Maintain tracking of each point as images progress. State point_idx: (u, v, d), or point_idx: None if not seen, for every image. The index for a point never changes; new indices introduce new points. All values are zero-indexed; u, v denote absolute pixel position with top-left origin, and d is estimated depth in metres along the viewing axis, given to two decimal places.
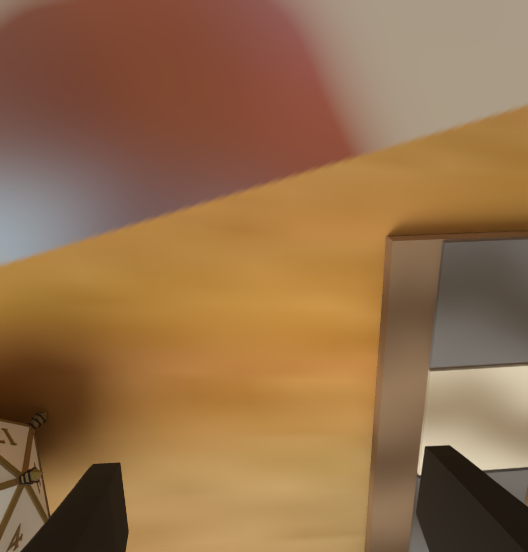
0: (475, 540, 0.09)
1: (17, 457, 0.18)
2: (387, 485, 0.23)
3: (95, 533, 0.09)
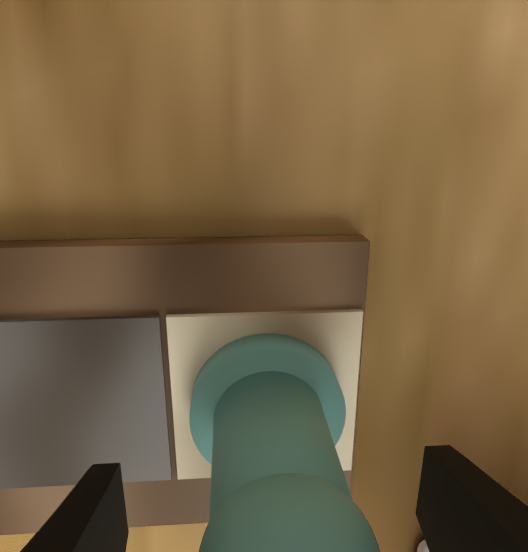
0: (475, 540, 0.09)
1: None
2: (13, 519, 0.16)
3: (95, 533, 0.09)
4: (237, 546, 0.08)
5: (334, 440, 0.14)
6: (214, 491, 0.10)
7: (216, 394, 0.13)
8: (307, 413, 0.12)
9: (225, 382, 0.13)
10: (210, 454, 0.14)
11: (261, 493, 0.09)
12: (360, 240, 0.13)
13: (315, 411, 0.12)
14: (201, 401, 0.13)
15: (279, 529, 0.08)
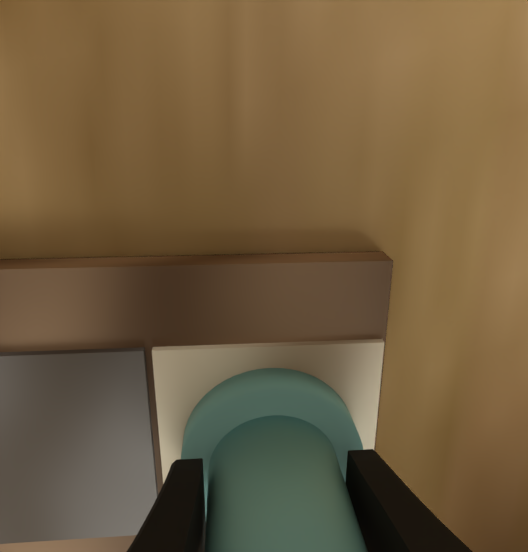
0: (381, 547, 0.09)
1: None
2: None
3: (194, 527, 0.09)
4: None
5: None
6: None
7: (211, 442, 0.11)
8: (322, 473, 0.10)
9: (222, 429, 0.11)
10: None
11: None
12: (381, 259, 0.11)
13: (330, 468, 0.10)
14: (193, 450, 0.11)
15: None
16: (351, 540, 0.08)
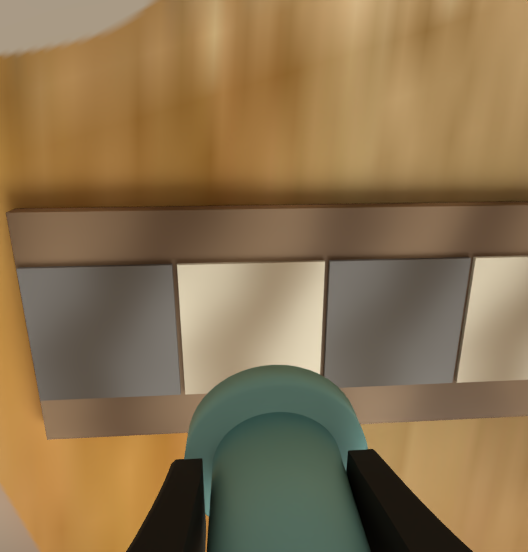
0: (382, 547, 0.09)
1: None
2: None
3: (194, 527, 0.09)
4: None
5: None
6: None
7: (215, 438, 0.11)
8: (325, 470, 0.10)
9: (226, 424, 0.11)
10: (208, 506, 0.12)
11: None
12: None
13: (334, 465, 0.10)
14: (197, 445, 0.11)
15: None
16: (353, 537, 0.08)
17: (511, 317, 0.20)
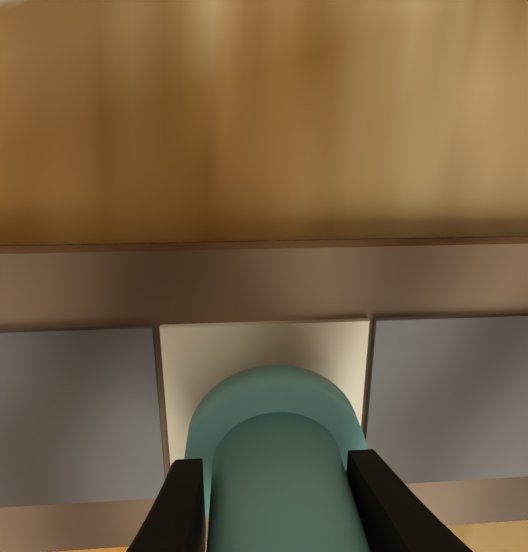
0: (382, 547, 0.09)
1: None
2: None
3: (194, 527, 0.09)
4: None
5: None
6: None
7: (215, 438, 0.11)
8: (324, 469, 0.10)
9: (226, 424, 0.11)
10: (208, 506, 0.12)
11: None
12: None
13: (333, 465, 0.10)
14: (197, 445, 0.11)
15: None
16: (352, 536, 0.08)
17: None
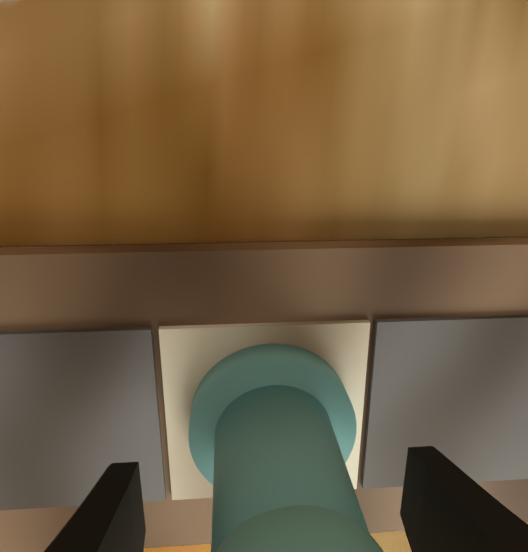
0: (455, 542, 0.09)
1: None
2: (371, 518, 0.15)
3: (117, 532, 0.09)
4: None
5: (343, 458, 0.13)
6: (216, 523, 0.09)
7: (217, 410, 0.12)
8: (317, 432, 0.11)
9: (227, 397, 0.12)
10: (211, 473, 0.13)
11: (271, 531, 0.08)
12: None
13: (325, 430, 0.11)
14: (200, 417, 0.12)
15: None
16: (342, 486, 0.09)
17: None
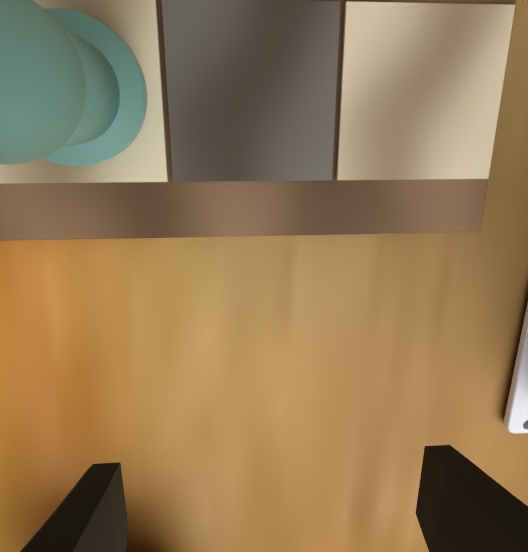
0: (475, 540, 0.09)
1: None
2: (188, 220, 0.17)
3: (95, 533, 0.09)
4: None
5: (134, 119, 0.15)
6: None
7: None
8: (72, 33, 0.13)
9: None
10: None
11: None
12: None
13: (87, 44, 0.13)
14: None
15: None
16: (64, 31, 0.11)
17: (397, 89, 0.16)
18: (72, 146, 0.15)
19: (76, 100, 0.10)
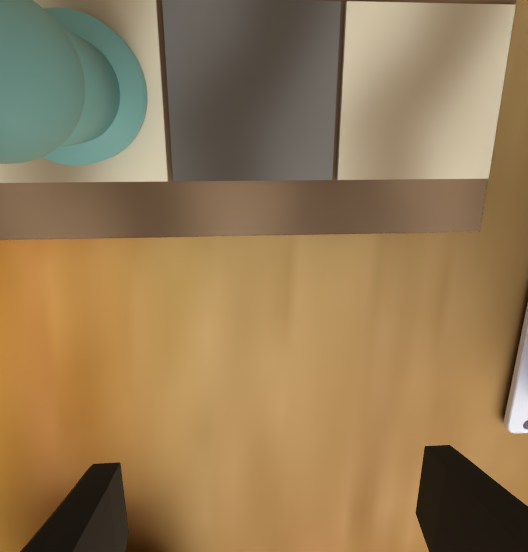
0: (475, 540, 0.09)
1: None
2: (188, 220, 0.17)
3: (95, 533, 0.09)
4: None
5: (135, 119, 0.15)
6: None
7: None
8: (71, 32, 0.13)
9: None
10: None
11: None
12: None
13: (87, 43, 0.13)
14: None
15: None
16: (64, 30, 0.11)
17: (398, 89, 0.16)
18: (72, 146, 0.15)
19: (75, 99, 0.10)
